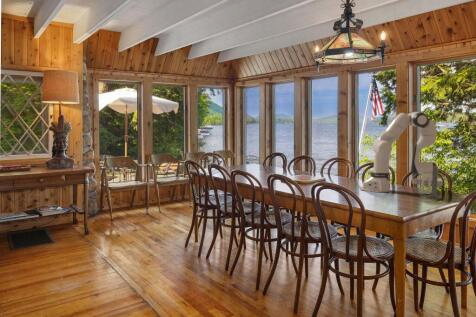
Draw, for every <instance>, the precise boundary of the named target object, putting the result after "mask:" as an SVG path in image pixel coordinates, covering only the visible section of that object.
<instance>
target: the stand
mask: <svg viewBox="0 0 476 317" xmlns="http://www.w3.org/2000/svg"><path fill="white" fill-rule="evenodd" d="M438 173H439V166H437V167H436V166H433V174H432V187H431V193H432V195H427V196H426V199H429V200H431V199H432V200H442V198H443V195H439V194H438V186H437V179H438V177H439V176H438V175H439V174H438Z"/></svg>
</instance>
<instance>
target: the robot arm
mask: <svg viewBox="0 0 476 317" xmlns="http://www.w3.org/2000/svg"><path fill="white" fill-rule="evenodd" d="M408 126H413V127H416V128H417V127H418V129H419V138H418V140H417V141H416V142H415V144H414V148H413V154H412V159H411V160H412V161H411V164H410V168H409V170H410V173H411V174H413V175H414V176H416V175H422V173H423V174H431V188H432V174H433V166H436V167H438V166H437V164H436V163H435V162H434V161H419V156H420V151H422V150H423V149H426V148H428V147H430V146H433V145H434V144H435V143H436V140H437V129H436V128H437V127H436V123H435V122H434V121H433V120H431V119H429V117H428V115H427V114H426V113H425V112H420V111H411V112H409V113H405V112H400V113H399V114H397V116H395V117H394V118H393V120H392V121H391V122H390V123H389V125H388V126H387V128H386V129H385V130H384V131H383V132H382V133H381V135H379V137H378V138H377V139H376V140H375V141H374V142H373V144H372V150H373V152H374V153H375V155H374V161H373V171H371V172H370V177H368V178H366V179H365V180H364V181H363V182H362V186H361V187H359V190H360V191H365V192H373V193H386V192H388V193H389V192H391V189H390V182H389V181H390V171H389V170H390V159H391V154H392V148H393V147H392V145H393V144H394V143H395V142H396V141H397V140H398V139H399V138H400V136H401V135H402V134H403V133H404V131H405V130H406V129H407V127H408ZM428 181H429V176H424V187H425V188H426V187H427V188H428ZM421 182H422V177H420V178H419V177H417V178H416V177H415V178H412V179H411V183H412V185H414V184H415V185H421ZM443 184H444V183H443V179H442V178H441V177H440V176H438V179H437V187H442V186H443Z"/></svg>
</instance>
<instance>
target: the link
mask: <svg viewBox="0 0 476 317" xmlns="http://www.w3.org/2000/svg"><path fill="white" fill-rule="evenodd" d="M424 176H429V181H428V187H427V190H425V186H424ZM421 179H422V182H421V184H420V185H421V187H420V193H423V194H431V193H432V187H431V174H423V173H422V174H421Z"/></svg>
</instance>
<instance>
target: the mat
mask: <svg viewBox="0 0 476 317" xmlns="http://www.w3.org/2000/svg"><path fill="white" fill-rule="evenodd" d="M418 195H419V196H424V197H427V195H432V192H431V194H423V193H421V192H420V193H419V194H418Z"/></svg>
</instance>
